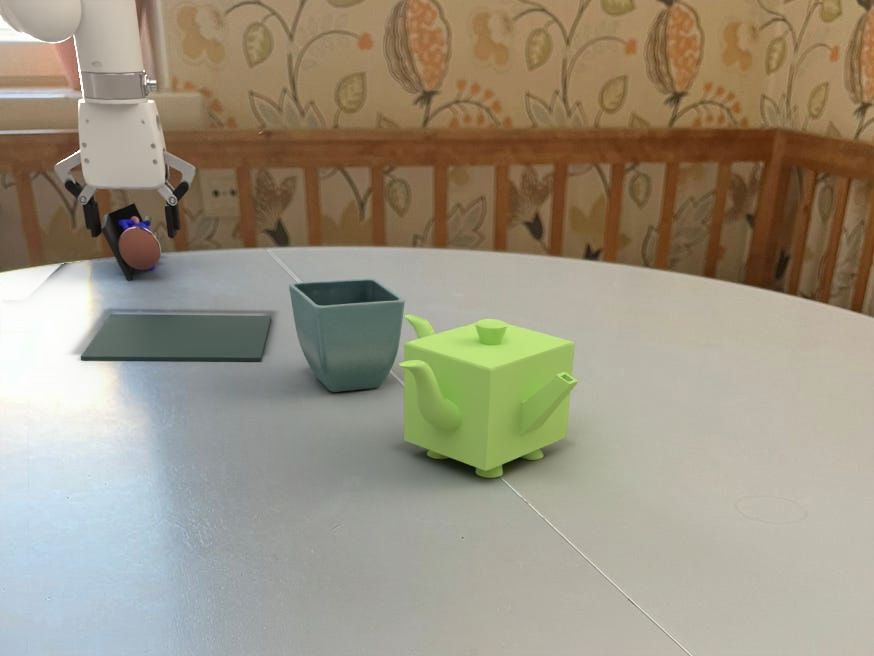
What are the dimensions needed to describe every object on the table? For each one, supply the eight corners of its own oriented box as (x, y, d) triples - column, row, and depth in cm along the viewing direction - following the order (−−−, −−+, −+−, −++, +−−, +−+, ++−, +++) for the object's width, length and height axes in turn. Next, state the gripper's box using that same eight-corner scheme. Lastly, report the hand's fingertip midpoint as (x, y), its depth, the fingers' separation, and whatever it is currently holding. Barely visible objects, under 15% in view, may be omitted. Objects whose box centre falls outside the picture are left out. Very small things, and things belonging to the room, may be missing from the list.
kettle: (399, 489, 82) (399, 347, 76) (392, 425, 94) (391, 298, 88) (586, 487, 84) (600, 348, 78) (556, 425, 96) (566, 300, 90)
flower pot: (406, 393, 101) (407, 298, 97) (319, 403, 98) (315, 306, 93) (374, 366, 108) (373, 276, 103) (292, 375, 105) (287, 282, 100)
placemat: (81, 360, 106) (80, 356, 106) (111, 317, 120) (111, 313, 119) (261, 361, 108) (260, 357, 108) (271, 319, 121) (271, 315, 121)
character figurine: (164, 259, 146) (161, 287, 133) (109, 255, 144) (101, 283, 132) (162, 199, 142) (158, 222, 129) (105, 195, 140) (96, 217, 128)
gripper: (190, 87, 131) (206, 230, 141) (48, 83, 130) (73, 229, 139) (182, 92, 125) (199, 242, 134) (32, 89, 123) (59, 241, 133)
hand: (135, 235), depth 137 cm, fingers open, 9 cm apart
